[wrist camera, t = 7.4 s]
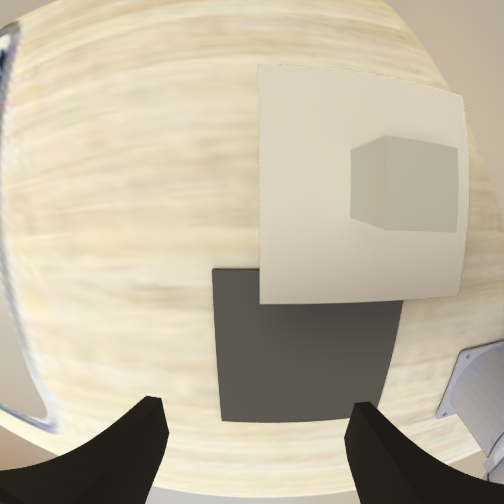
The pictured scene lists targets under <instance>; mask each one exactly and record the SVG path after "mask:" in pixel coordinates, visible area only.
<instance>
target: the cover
mask: <svg viewBox="0 0 504 504" xmlns="http://www.w3.org/2000/svg"><path fill="white" fill-rule="evenodd" d="M258 90H259V195H260V304H320V303H353V302H375V301H394V300H410V299H424V298H437V297H448V296H458V293H459V287H460V282H461V276H462V269H463V262H464V255H465V246H466V237H467V225H468V208H469V156H468V139H467V128H466V118H465V110H464V103H463V96H461V95H458V94H455V93H452V92H449V91H446V90H442V89H439V88H435V87H432V86H428V85H424V84H420V83H416V82H412V81H408V80H403V79H399V78H394V77H389V76H384V75H378V74H373V73H366V72H360V71H353V70H345V69H336V68H326V67H315V66H298V65H258Z"/></svg>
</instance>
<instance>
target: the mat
mask: <svg viewBox="0 0 504 504" xmlns="http://www.w3.org/2000/svg"><path fill="white" fill-rule="evenodd" d="M212 283H213V305H214V323H215V340H216V356H217V370H218V383H219V395H220V407H221V418H222V421H230V422H257V423H282V422H309V421H324V420H336V419H346V418H350V417H351V414H352V410H353V407H354V403H359V402H368V401H370V402H371V403H372V404H373V405H374V406H375V407H376V408H377V406H378V403H379V400H380V397H381V393H382V390H383V387H384V383H385V379H386V376H387V372H388V368H389V364H390V360H391V356H392V352H393V348H394V344H395V339H396V334H397V330H398V325H399V320H400V314H401V309H402V303H403V300H394V301H375V302H353V303H320V304H260V269H213V270H212Z"/></svg>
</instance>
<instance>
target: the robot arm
mask: <svg viewBox="0 0 504 504" xmlns="http://www.w3.org/2000/svg"><path fill="white" fill-rule="evenodd" d="M456 413H457V415H458V416H459V417H460V419H461V420H462V422H463V423H464V424H465V426H466V427H467V429H468V430H469V432H470V433H471V434H472V436H473V437H474V439H475V440H476V442H477V443H478V445H479V446H480V447H481V449H482V450H483V452H484V453H485V455H486V456H487V458H488V459H487V460H486V461H485V463H484V464H483V466H484V467H485V469H486V471H487V472H486V473H485V474H484V476H483V480H482V479H479V478H476V477H473V476H470V475H468V474H465V473H463V472H460V471H458V470H456V469H454V468H452V467H450V466H448V465H446V464H444V463H442V462H441V461H439V460H438V459H436V458H434V457H433V456H431V455H430V454H428V453H427V452H425V451H424V450H422V449H421V448H420V447H418V446H417V445H416V444H415V443H413V442H412V441H411V440H410V439H408V438H407V437H406V436H405V435H404V434H403V433H402V432H400V431H399V430H398V429H397V428H396V427H395V426H394V425H393V424H392V423H391V422H390V421H389V420H388V419H387V418H386V417H385V416H384V415H383V414H382V413H381V412H380V411H379V410H378V409H377V408H376V407H375V406H374V405H373V404H372V403H371V402H370V401H368V402H359V403H354V407H353V410H352V414H351V417H350V420H349V424H348V427H347V430H346V433H345V436H344V440H345V447H346V453H347V459H348V463H349V466H350V469H351V473H352V476H353V479H354V483H355V486H356V489H357V493H358V496H359V499H360V503H361V504H504V341H501V342H497V343H494V344H490V345H486V346H482V347H477V348H473V349H469V350H464V351H462V352H461V353H460V355H459V357H458V360H457V363H456V366H455V369H454V371H453V374H452V377H451V380H450V382H449V385H448V387H447V390H446V392H445V395H444V397H443V399H442V402H441V404H440V406H439V409H438V411H437V413H436V418H437V419H440V418H443V417H446V416H450V415H453V414H456ZM168 436H169V430H168V426H167V422H166V418H165V413H164V409H163V404H162V400H161V398H157V397H151V396H146V397H144V398H143V399H142V400H141V401H140V402H138V403H137V404H136V405H135V406H134V407H133V408H131V409H130V410H129V411H128V412H127V413H126V414H124V415H123V416H122V417H121V418H120V419H118V420H117V421H116V422H115V423H113V424H112V425H111V426H110V427H108V428H107V429H106V430H104V431H103V432H101V433H100V434H99V435H97V436H96V437H94V438H93V439H91V440H90V441H88V442H86V443H85V444H83V445H81V446H80V447H78V448H76V449H74V450H72V451H70V452H68V453H66V454H63V455H61V456H59V457H56V458H54V459H51V460H49V461H46V462H42V463H40V464H36V465H32V466H28V467H23V468H17V469H10V470H2V471H0V504H145V502H146V499H147V496H148V494H149V491H150V488H151V486H152V484H153V481H154V479H155V476H156V474H157V471H158V469H159V466H160V464H161V461H162V458H163V456H164V453H165V449H166V445H167V440H168Z"/></svg>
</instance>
